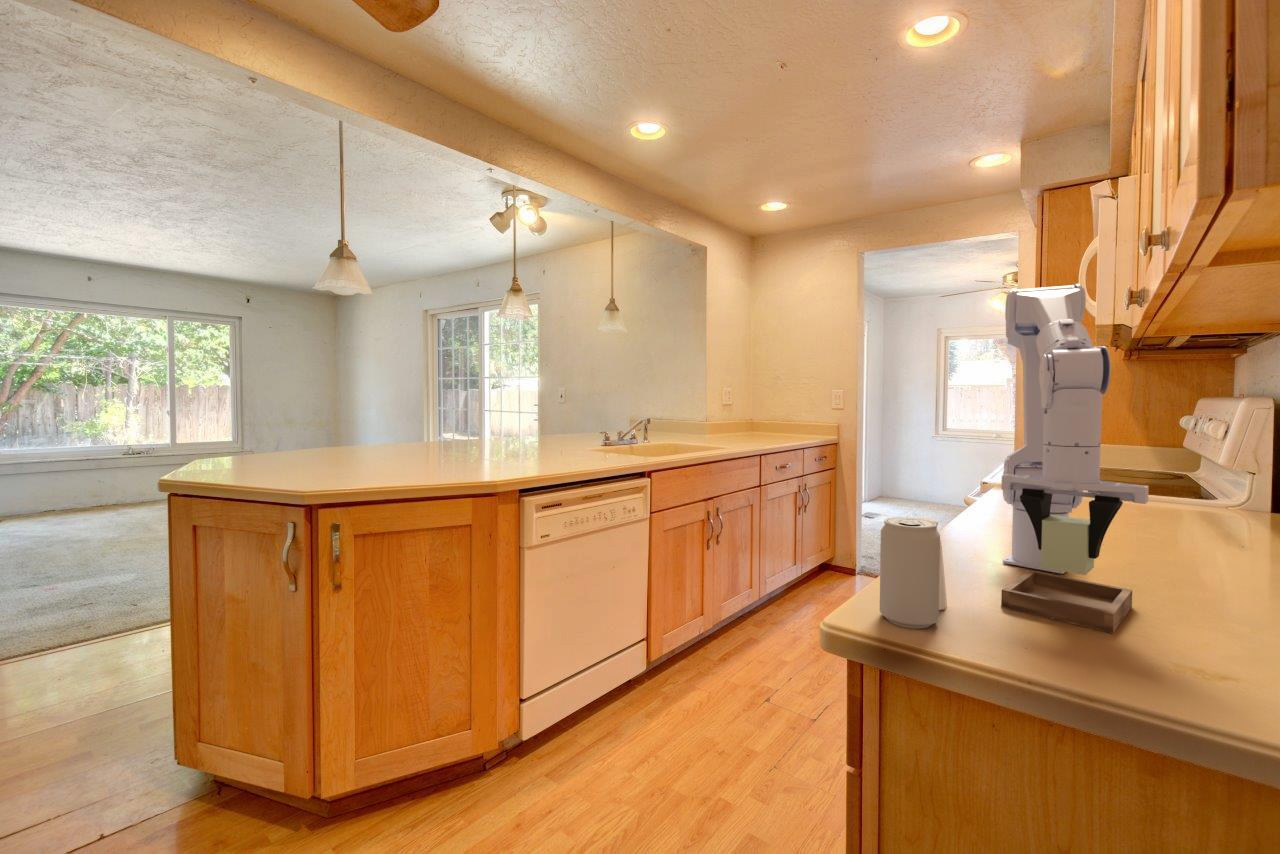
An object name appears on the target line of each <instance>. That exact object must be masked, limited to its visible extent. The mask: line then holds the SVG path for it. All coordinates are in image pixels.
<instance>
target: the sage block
mask: <svg viewBox="0 0 1280 854" xmlns="http://www.w3.org/2000/svg"><path fill="white" fill-rule="evenodd" d="M1089 539H1090V519H1086V518H1078V517H1070V516H1069V517H1064V516H1056V515H1051V516H1049V517H1047V518H1045V519H1043V520H1042V546H1041V567H1044V568H1049V569H1054V570H1060V571H1065V573H1066V572H1067V573H1072V574H1077V575H1083V576H1087V575H1088V574H1089V572H1090V571H1092V570H1093V569H1094V568H1095V559H1093V558H1089V551H1088V547H1089Z"/></svg>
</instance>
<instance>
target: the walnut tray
mask: <svg viewBox="0 0 1280 854" xmlns="http://www.w3.org/2000/svg"><path fill="white" fill-rule="evenodd" d="M1000 596H1001V599H1000V601H1001V603H1000V604H1001V605H1000V607H1001V608H1005V609H1008V610H1009V609H1010V610H1013V611H1017V612H1021V613H1025V614H1029V613H1030V614H1029V615H1034V614H1035V615H1034V616H1038V615H1039V616H1038V617H1042V616H1043V618H1046V617H1047V619H1051V620H1055V621H1059V622H1064V623H1068V624H1071V625H1076V626H1081V627H1083V628H1089V629H1093V630H1097V631H1102V632H1105V633H1110V634H1114V633H1115V631H1116V630H1117V628H1119V625H1120V624H1121V623H1122V622H1123V620H1124V619H1125V617H1126V616H1127V614H1128V613H1129V611H1130V610H1131V608H1132V607H1133V589H1131V588H1125V587H1120V586H1114V585H1110V584H1104V583H1098V582H1093V581H1087V580H1082V579H1081V580H1080V579H1078V578H1074V577H1073V578H1072V577H1067V576H1062V575H1055V574H1051V573H1045V572H1041V571H1034V570H1027V571H1026V572H1025V573H1023V574H1022V575H1020V576H1019V577H1017V578H1016V579H1015V580H1013V581H1012V582H1010V583H1009V584H1007V585H1006V586H1005V587H1003V588H1002V589H1001V595H1000Z"/></svg>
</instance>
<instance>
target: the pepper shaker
mask: <svg viewBox="0 0 1280 854" xmlns="http://www.w3.org/2000/svg"><path fill="white" fill-rule="evenodd" d="M917 519H923V520H928V521H932V522H934V523H936V524H937V527H936V530H937V531H938V524H939V522H938V520H936V519H934V518H929V517H917ZM943 557H944V556H943V546H942V539H940V571H939V611H945V610H946V608H947V605H948V602H947V600H948V599H947V589H946V588H947V587H946V579H945V568H944V558H943Z"/></svg>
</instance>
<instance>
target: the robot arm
mask: <svg viewBox="0 0 1280 854" xmlns="http://www.w3.org/2000/svg"><path fill="white" fill-rule="evenodd" d="M1086 298H1087V297H1086V290H1085V288H1084V287H1083V286H1082V284H1081V283H1074V284H1071V285H1070V284H1069V285H1060V286H1059V285H1058V286H1045V287H1033V288H1032V287H1031V288H1021V289H1016V288H1011V289H1010V290H1009V291H1008V292H1007V293H1006V298H1005V308H1004V310H1005V312H1004V313H1005V314H1004V315H1005V317H1004V318H1005V337H1006V339H1007V344H1008V345H1010V346H1012V347H1015V348H1017V349H1018V350H1019V354H1020V357H1021V361H1022V383H1023V384H1022V385H1023V386H1022V389H1023V390H1022V391H1023V395H1022V396H1023V405H1022V406H1023V446H1021V447H1020V448H1018V449H1016V450H1015V451H1013V452H1012V453H1010V454H1009V455H1008V454H1007V456H1006V458H1005V460H1004V463H1003V471H1002V473H1003V474H1002V475H1001V486H1000V487H1001V490H1002V498H1003V500H1004V501H1005V502H1006V504H1008V505H1011V506H1012V528H1011V529H1012V530H1011V533H1012V534H1011V554H1010V555H1008V556H1007V557H1005V558H1003V559H1002V563H1004V564H1007V565H1013V566H1018V567H1023V568H1028V569H1035V570H1039V571H1044V572H1049V573H1050V572H1051V573H1055V574H1061V575H1062V574H1065V573H1066V572H1065V571H1060V570H1054V569H1049V568H1044V567H1041V546H1042V520H1043V519H1045V518H1047V517H1049V516H1051V515H1056V516H1064V517H1070V515H1069V514H1070V513H1073V509H1075V510H1076V509H1077V508H1078V507H1079V506H1081V504H1082V501H1083V498H1089V499H1091V498H1092V500H1091V501H1089V502H1088V511H1089V520H1090V539H1089V547H1088V551H1089V558H1093V559H1094V560H1096V559H1097V558H1098V557H1100V552H1101V548H1102V543H1103V541H1104V538H1105V535H1106V534H1107V531H1108V528H1109V527H1110V525H1111V523H1112V521H1113V520H1114V518H1115V517H1116V515H1117V514H1118V512H1119V510H1120V509H1121V507H1122V506H1123V504H1124V502H1130V503H1131V502H1132V503H1134V504H1142V505H1145V504H1148V502H1149V491H1150V490H1149V488H1150V487H1149V485H1144V484H1143V485H1142V484H1132V483H1125V482H1124V483H1123V482H1117V481H1116V482H1114V481H1106V480H1100V478H1101V477H1100V476H1101V473H1100V472H1101V450H1102V449H1101V443H1102V418H1103V417H1102V415H1103V395H1105V394H1106V393H1107V392H1108V389H1109V388H1110V387H1109V386H1110V382H1111V381H1110V380H1111V378H1112V377H1111V376H1112V363H1111V355H1110V352H1109V349H1108V348H1107V346H1099V345H1098V346H1097V345H1096V346H1094V344H1093V341H1092V339H1091V337H1090V334H1089V332H1088V330H1087V328H1086V327H1085V325H1084V324H1082V321H1083V319H1084V316H1085V311H1086V304H1087V302H1086V301H1087V299H1086ZM1085 491H1087V492H1085Z"/></svg>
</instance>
